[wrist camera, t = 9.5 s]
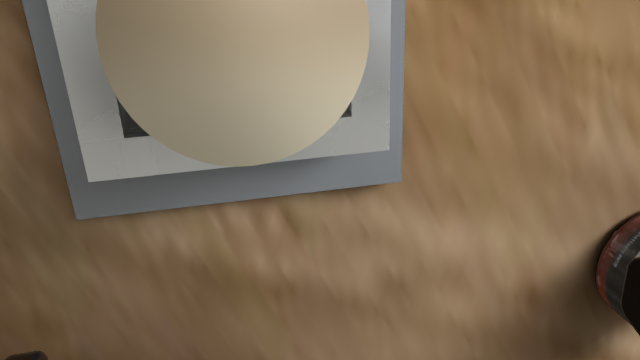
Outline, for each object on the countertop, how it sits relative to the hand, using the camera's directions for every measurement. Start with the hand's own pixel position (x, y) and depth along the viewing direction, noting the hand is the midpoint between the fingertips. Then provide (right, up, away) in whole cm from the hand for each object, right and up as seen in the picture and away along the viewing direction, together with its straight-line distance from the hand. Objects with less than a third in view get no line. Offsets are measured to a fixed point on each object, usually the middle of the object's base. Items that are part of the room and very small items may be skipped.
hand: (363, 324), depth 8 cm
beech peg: (-4, +8, +9) cm, 12 cm away
